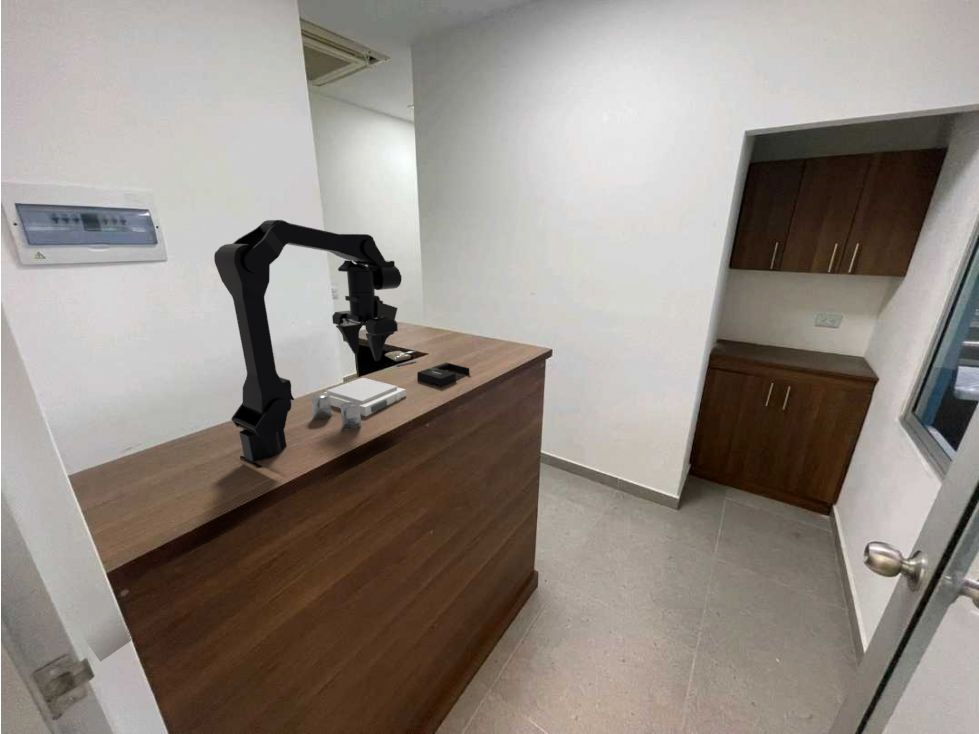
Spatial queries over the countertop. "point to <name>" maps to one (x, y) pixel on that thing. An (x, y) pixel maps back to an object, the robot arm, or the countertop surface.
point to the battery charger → (442, 374)
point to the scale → (366, 395)
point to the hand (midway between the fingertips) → (366, 356)
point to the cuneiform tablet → (399, 355)
